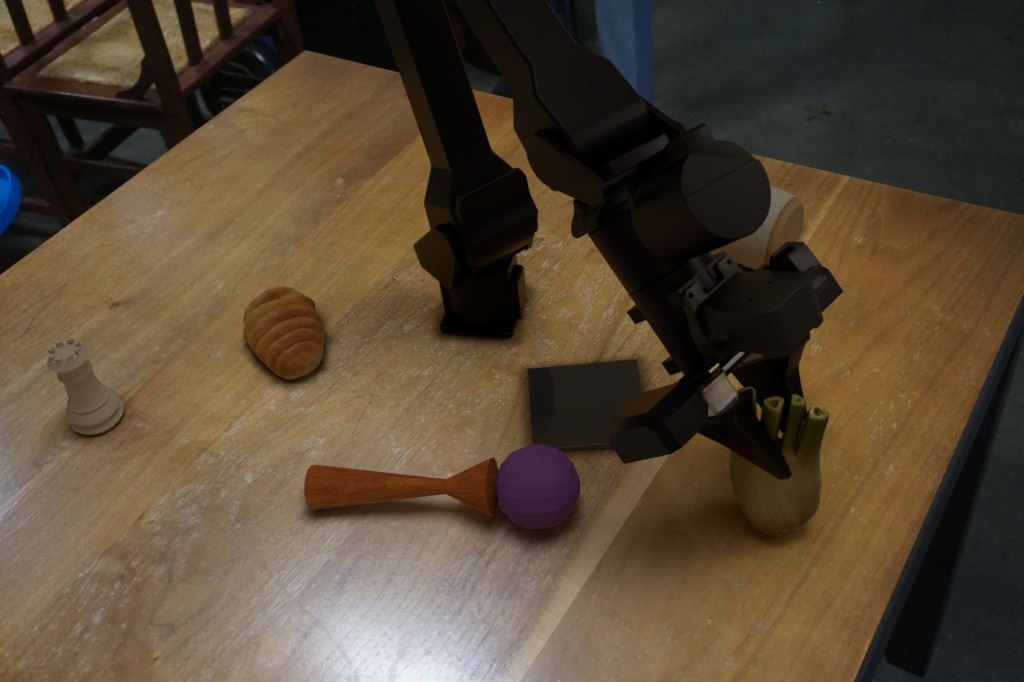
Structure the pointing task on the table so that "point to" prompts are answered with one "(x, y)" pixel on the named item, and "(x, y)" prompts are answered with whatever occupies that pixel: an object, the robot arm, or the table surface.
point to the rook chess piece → (84, 389)
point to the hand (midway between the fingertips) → (798, 465)
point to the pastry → (285, 331)
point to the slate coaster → (580, 402)
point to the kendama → (464, 486)
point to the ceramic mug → (769, 231)
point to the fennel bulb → (799, 496)
